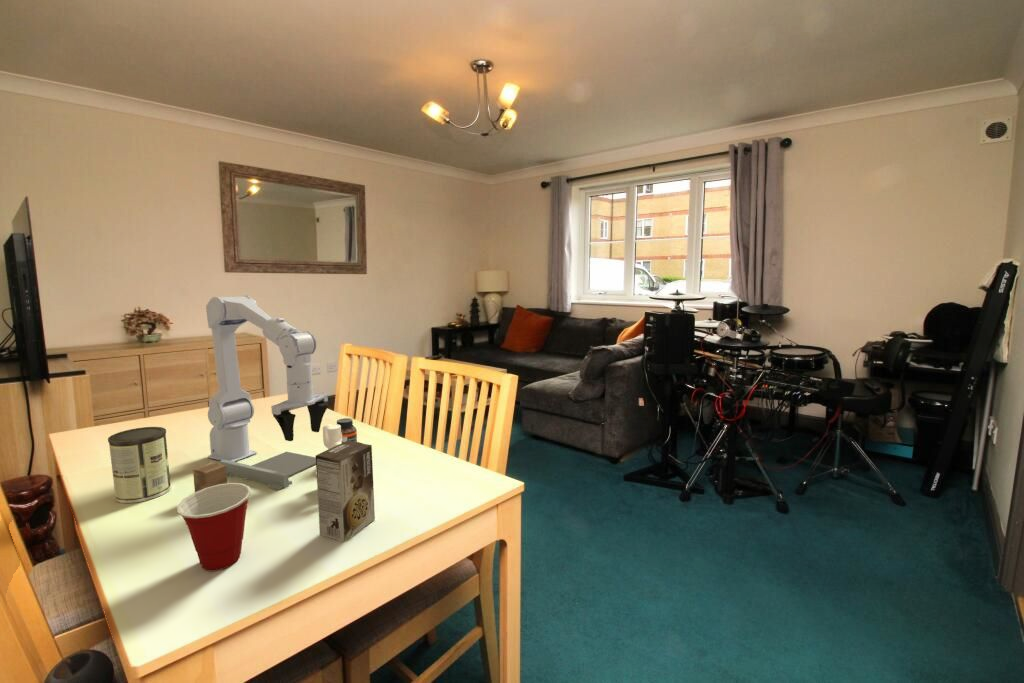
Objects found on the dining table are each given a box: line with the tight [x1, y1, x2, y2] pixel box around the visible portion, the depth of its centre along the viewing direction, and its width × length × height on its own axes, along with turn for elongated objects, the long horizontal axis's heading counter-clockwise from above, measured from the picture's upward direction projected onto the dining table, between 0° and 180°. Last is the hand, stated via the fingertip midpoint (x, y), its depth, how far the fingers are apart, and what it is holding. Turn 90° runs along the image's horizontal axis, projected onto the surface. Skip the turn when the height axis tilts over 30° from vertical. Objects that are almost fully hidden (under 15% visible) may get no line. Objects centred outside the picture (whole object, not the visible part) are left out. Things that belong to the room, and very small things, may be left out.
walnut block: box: [192, 461, 228, 493], centre depth 107 cm, size 4×4×7 cm
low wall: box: [219, 460, 293, 491], centre depth 117 cm, size 22×4×3 cm, turn 67°
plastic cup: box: [176, 482, 252, 572], centre depth 82 cm, size 11×11×12 cm
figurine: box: [314, 423, 342, 476], centre depth 111 cm, size 7×9×15 cm
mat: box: [251, 451, 316, 479], centre depth 126 cm, size 14×12×1 cm
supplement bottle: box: [336, 417, 358, 443], centre depth 128 cm, size 6×6×11 cm
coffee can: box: [107, 426, 172, 504], centre depth 108 cm, size 10×10×14 cm
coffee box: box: [315, 441, 376, 542], centre depth 94 cm, size 9×6×16 cm
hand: (302, 435), depth 118 cm, fingers open, 7 cm apart
